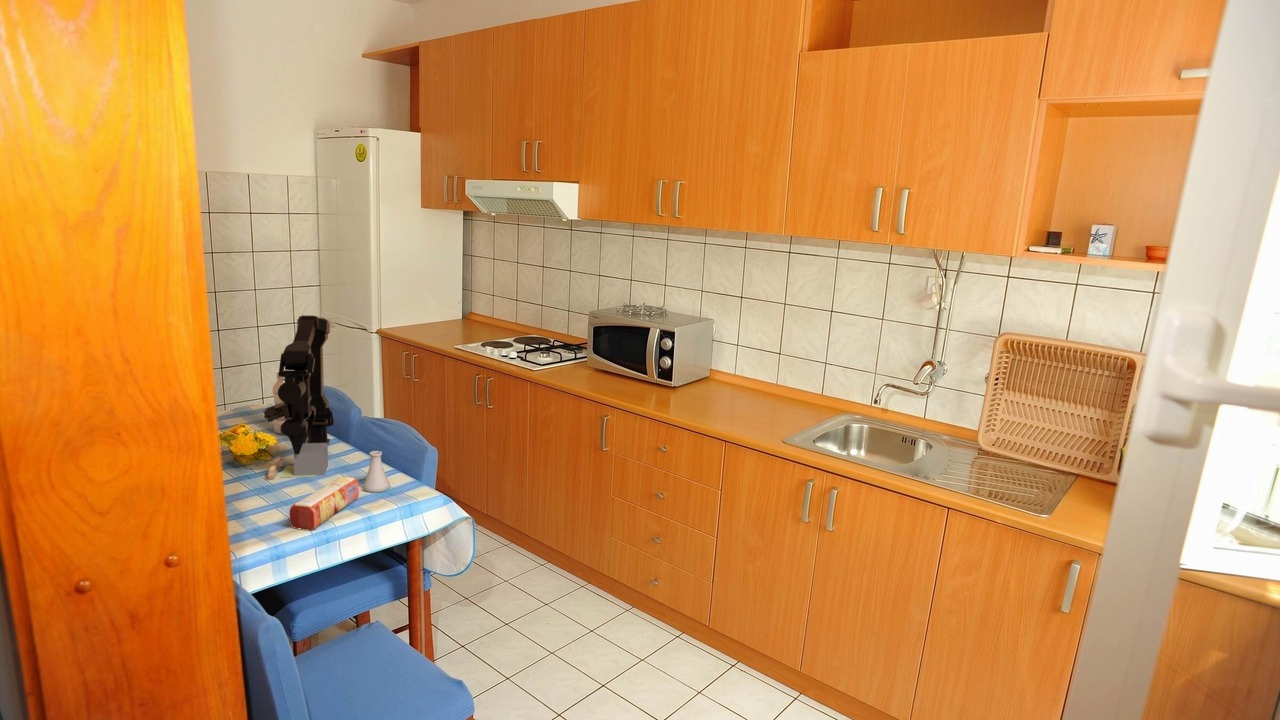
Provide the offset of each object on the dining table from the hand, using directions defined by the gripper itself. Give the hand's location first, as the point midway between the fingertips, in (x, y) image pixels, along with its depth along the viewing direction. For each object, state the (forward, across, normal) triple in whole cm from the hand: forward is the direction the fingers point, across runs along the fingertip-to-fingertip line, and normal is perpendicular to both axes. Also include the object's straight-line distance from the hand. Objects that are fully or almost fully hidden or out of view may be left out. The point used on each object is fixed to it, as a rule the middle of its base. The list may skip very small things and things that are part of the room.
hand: (300, 448), depth 204 cm
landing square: (+7, 0, 0) cm, 7 cm away
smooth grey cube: (+7, 0, +3) cm, 7 cm away
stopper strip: (+7, 0, -6) cm, 9 cm away
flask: (+7, +15, +21) cm, 27 cm away
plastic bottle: (+7, -38, -11) cm, 40 cm away
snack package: (+7, +30, +11) cm, 33 cm away
